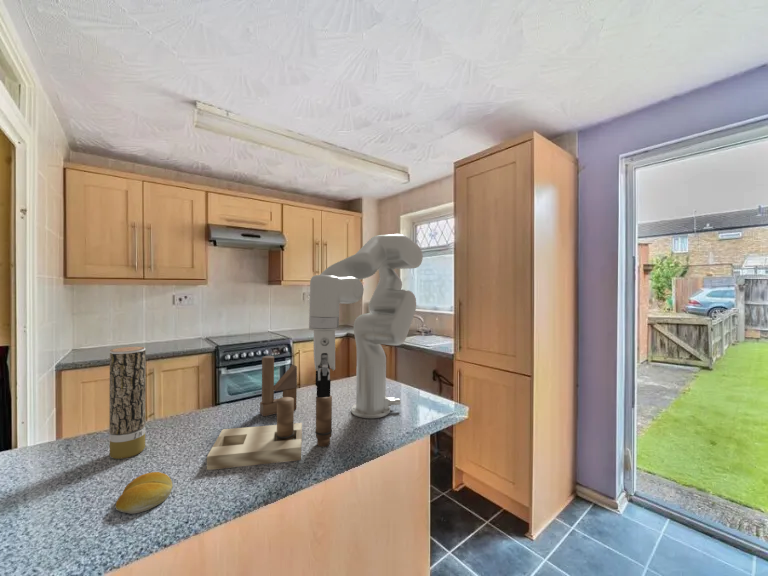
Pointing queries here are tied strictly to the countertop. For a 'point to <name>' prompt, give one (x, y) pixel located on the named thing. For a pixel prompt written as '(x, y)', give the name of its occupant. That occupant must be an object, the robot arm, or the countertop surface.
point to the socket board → (253, 447)
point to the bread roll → (144, 493)
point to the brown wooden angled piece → (276, 386)
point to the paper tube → (127, 401)
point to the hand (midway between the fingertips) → (322, 390)
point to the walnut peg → (323, 420)
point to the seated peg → (285, 418)
